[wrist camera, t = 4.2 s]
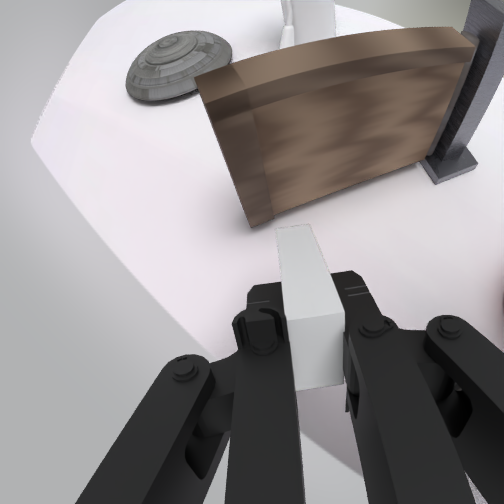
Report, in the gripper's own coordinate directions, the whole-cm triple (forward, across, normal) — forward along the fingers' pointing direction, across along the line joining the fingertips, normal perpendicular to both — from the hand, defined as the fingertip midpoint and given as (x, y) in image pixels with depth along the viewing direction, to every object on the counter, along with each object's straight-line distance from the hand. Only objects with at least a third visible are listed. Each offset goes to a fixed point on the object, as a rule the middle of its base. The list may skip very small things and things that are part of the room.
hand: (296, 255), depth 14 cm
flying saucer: (+31, -10, +15) cm, 36 cm away
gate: (+13, +6, 0) cm, 15 cm away
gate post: (+16, +17, +1) cm, 24 cm away
